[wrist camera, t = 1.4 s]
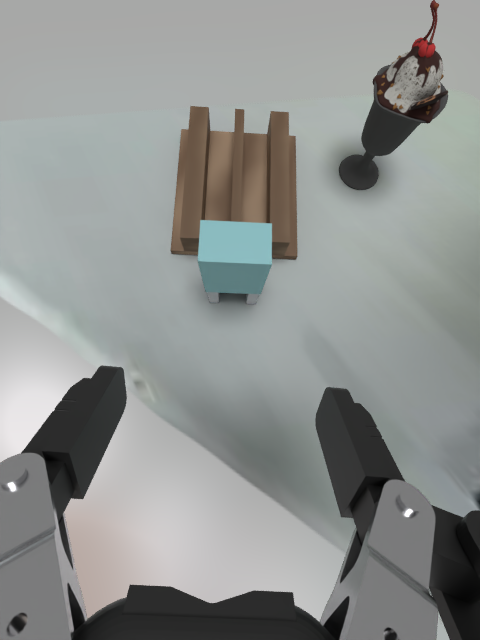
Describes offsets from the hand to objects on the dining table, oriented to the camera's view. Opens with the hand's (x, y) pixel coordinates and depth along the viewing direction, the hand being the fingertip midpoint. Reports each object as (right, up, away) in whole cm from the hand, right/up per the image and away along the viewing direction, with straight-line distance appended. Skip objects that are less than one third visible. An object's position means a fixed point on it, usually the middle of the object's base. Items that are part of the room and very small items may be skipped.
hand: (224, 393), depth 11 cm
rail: (0, +18, +22) cm, 28 cm away
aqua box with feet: (0, +6, +19) cm, 20 cm away
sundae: (+15, +21, +23) cm, 35 cm away
